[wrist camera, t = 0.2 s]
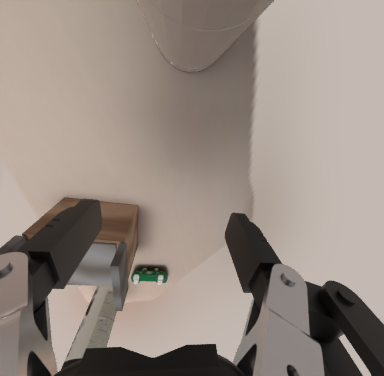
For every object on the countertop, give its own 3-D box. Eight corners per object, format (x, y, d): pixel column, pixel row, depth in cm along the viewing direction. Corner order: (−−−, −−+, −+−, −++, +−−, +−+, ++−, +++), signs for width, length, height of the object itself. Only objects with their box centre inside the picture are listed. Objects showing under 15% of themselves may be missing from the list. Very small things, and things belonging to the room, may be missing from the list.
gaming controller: (168, 266, 43) (168, 271, 38) (167, 281, 42) (166, 289, 37) (134, 265, 42) (129, 270, 37) (132, 280, 41) (126, 288, 36)
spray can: (97, 276, 40) (36, 408, 23) (124, 277, 41) (84, 404, 24) (100, 289, 44) (49, 414, 27) (125, 290, 45) (91, 410, 27)
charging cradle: (61, 197, 28) (-14, 259, 17) (140, 205, 30) (118, 266, 19) (74, 243, 34) (24, 310, 23) (139, 247, 36) (122, 311, 25)
